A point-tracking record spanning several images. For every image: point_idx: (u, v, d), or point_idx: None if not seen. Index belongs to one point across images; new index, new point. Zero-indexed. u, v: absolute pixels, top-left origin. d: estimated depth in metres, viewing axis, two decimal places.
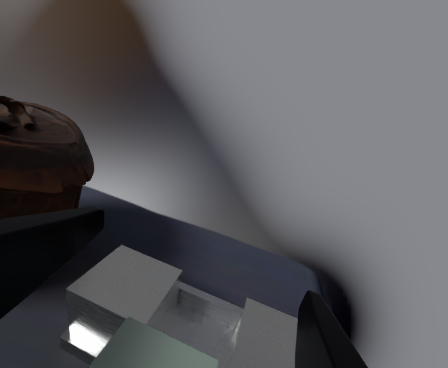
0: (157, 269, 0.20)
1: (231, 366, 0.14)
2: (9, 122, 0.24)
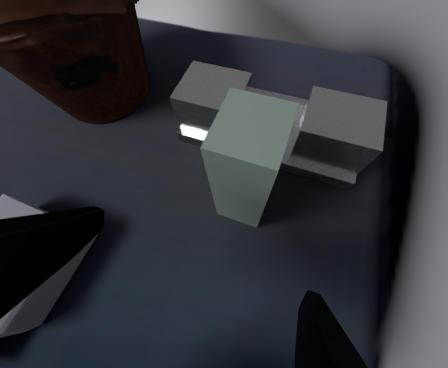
0: (230, 75, 0.23)
1: (301, 128, 0.20)
2: None
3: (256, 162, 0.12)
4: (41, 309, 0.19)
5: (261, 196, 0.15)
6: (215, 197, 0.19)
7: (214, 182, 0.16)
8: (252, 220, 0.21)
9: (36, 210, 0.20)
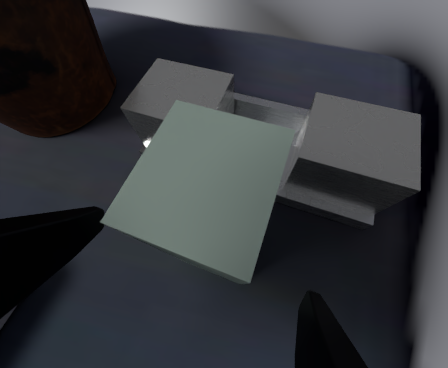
0: (204, 77, 0.17)
1: (300, 154, 0.14)
2: None
3: (205, 259, 0.06)
4: None
5: (233, 279, 0.09)
6: (174, 256, 0.13)
7: (160, 249, 0.10)
8: None
9: None
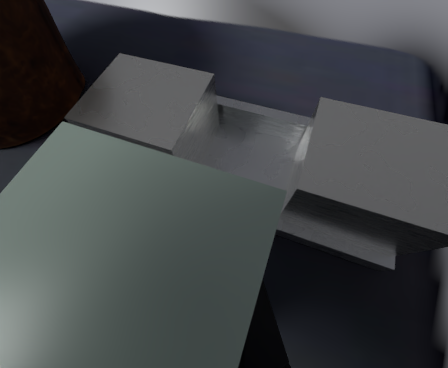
0: (176, 77, 0.13)
1: (299, 184, 0.10)
2: None
3: None
4: None
5: None
6: None
7: None
8: None
9: None
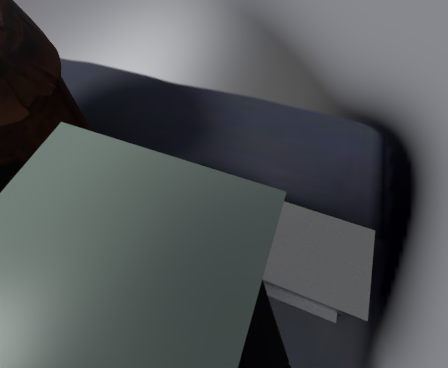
0: None
1: None
2: None
3: None
4: None
5: None
6: None
7: None
8: None
9: None
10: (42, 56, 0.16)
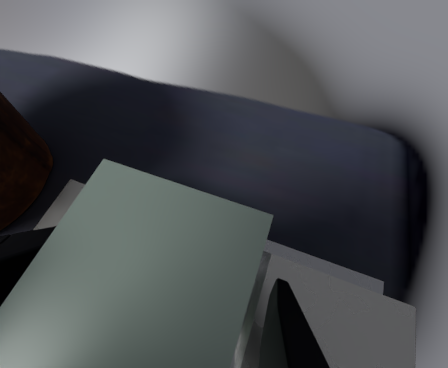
0: None
1: None
2: None
3: None
4: None
5: None
6: None
7: None
8: None
9: None
10: None
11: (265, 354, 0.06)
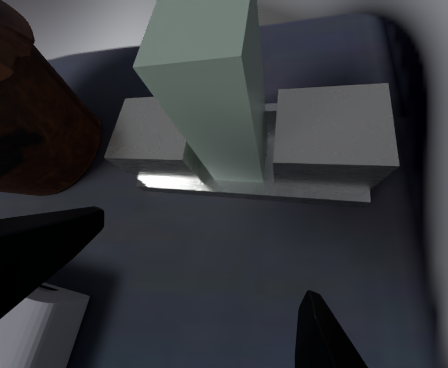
0: None
1: (274, 159, 0.14)
2: None
3: (208, 56, 0.08)
4: None
5: (244, 123, 0.11)
6: (199, 153, 0.15)
7: (184, 128, 0.12)
8: (253, 173, 0.17)
9: None
10: (10, 19, 0.17)
11: None
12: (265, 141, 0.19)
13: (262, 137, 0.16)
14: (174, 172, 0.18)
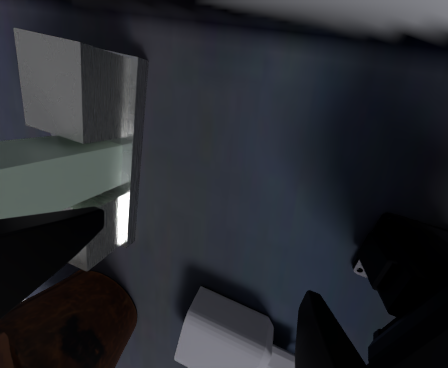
0: None
1: (80, 142, 0.17)
2: None
3: None
4: (255, 321, 0.24)
5: (31, 169, 0.14)
6: (78, 200, 0.19)
7: (41, 213, 0.16)
8: (107, 154, 0.20)
9: (180, 338, 0.24)
10: None
11: None
12: None
13: (71, 144, 0.19)
14: (105, 218, 0.22)
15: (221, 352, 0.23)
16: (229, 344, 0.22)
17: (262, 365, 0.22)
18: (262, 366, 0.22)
